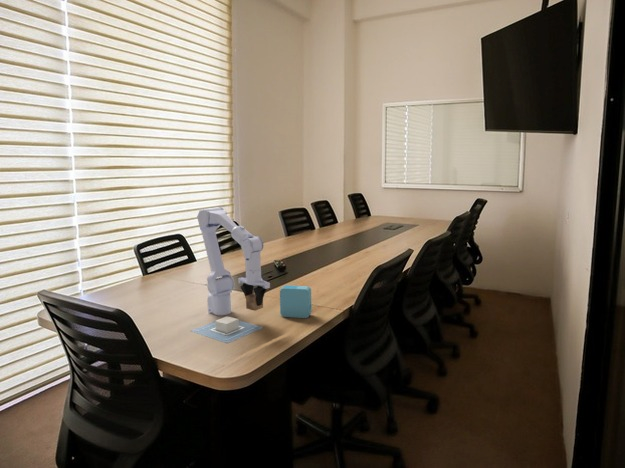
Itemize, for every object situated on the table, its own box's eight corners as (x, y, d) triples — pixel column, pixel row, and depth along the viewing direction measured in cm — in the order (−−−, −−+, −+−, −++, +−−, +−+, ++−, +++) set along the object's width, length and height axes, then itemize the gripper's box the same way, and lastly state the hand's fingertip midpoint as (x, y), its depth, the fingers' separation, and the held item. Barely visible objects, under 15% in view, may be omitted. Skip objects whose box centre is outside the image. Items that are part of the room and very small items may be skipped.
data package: (311, 314, 182) (311, 286, 180) (309, 318, 178) (308, 289, 176) (283, 313, 184) (282, 285, 182) (280, 316, 180) (279, 288, 178)
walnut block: (246, 308, 170) (245, 295, 169) (254, 305, 173) (254, 293, 173) (255, 310, 167) (254, 297, 166) (263, 307, 171) (262, 294, 170)
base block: (215, 329, 164) (215, 320, 163) (227, 325, 169) (227, 316, 168) (226, 333, 160) (226, 324, 160) (238, 328, 165) (238, 319, 165)
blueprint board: (190, 333, 164) (190, 330, 163) (227, 319, 178) (226, 316, 178) (227, 346, 152) (227, 342, 152) (264, 329, 166) (263, 326, 166)
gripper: (274, 269, 167) (275, 304, 169) (246, 264, 175) (248, 298, 177) (262, 273, 161) (263, 309, 163) (233, 268, 170) (235, 302, 172)
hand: (254, 303), depth 170 cm, fingers closed on walnut block, 4 cm apart
